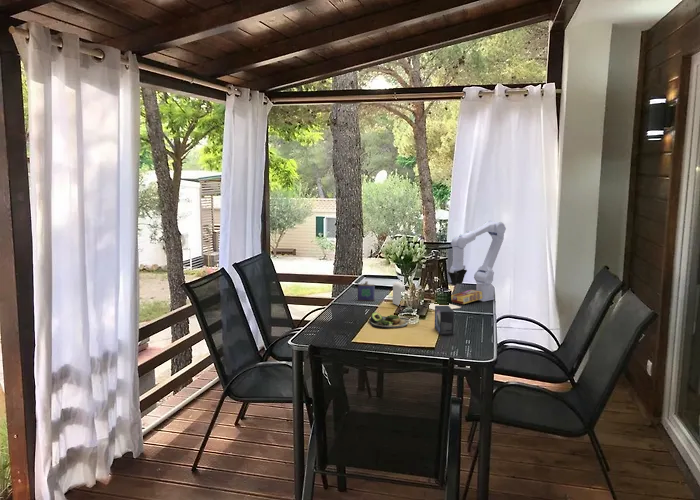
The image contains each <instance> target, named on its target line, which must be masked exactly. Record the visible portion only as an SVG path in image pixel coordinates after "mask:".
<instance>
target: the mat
mask: <svg viewBox="0 0 700 500" xmlns="http://www.w3.org/2000/svg"><path fill="white" fill-rule="evenodd" d="M434 303H435V302H430V303H429V304H430V305H429V310H431V309H432V310H433V311H435V306H447V305H439V304H434ZM448 306H449V307H450V308H451V309H452V310H456V309H461V308H462V306H459V305H456V304H452V303H449V305H448ZM432 310H431V311H432Z"/></svg>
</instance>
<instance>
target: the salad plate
mask: <svg viewBox="0 0 700 500" xmlns="http://www.w3.org/2000/svg"><path fill="white" fill-rule="evenodd" d="M409 320H410V318H408V317H401V315H398V316H397V314H395V315H394V314H389V315H387V316H386V315H385V316H382V315H381V314H380V313H379V312H372V313H371V315H370V317H369V318H368V322H369V324H370V326H372V327H373V328H376V329H387V330H388V329H399V328H404V327H406V326H408V322H407V321H409Z"/></svg>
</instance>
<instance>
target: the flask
mask: <svg viewBox="0 0 700 500" xmlns="http://www.w3.org/2000/svg"><path fill="white" fill-rule="evenodd" d="M368 282H369V281H365V282H363V283H362V282H361V283H358V284H357V301H359V302H365V301H366V302H374V301H375V300H376V299H375V287H376V286H375V285H376V284H374V283H368Z"/></svg>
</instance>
